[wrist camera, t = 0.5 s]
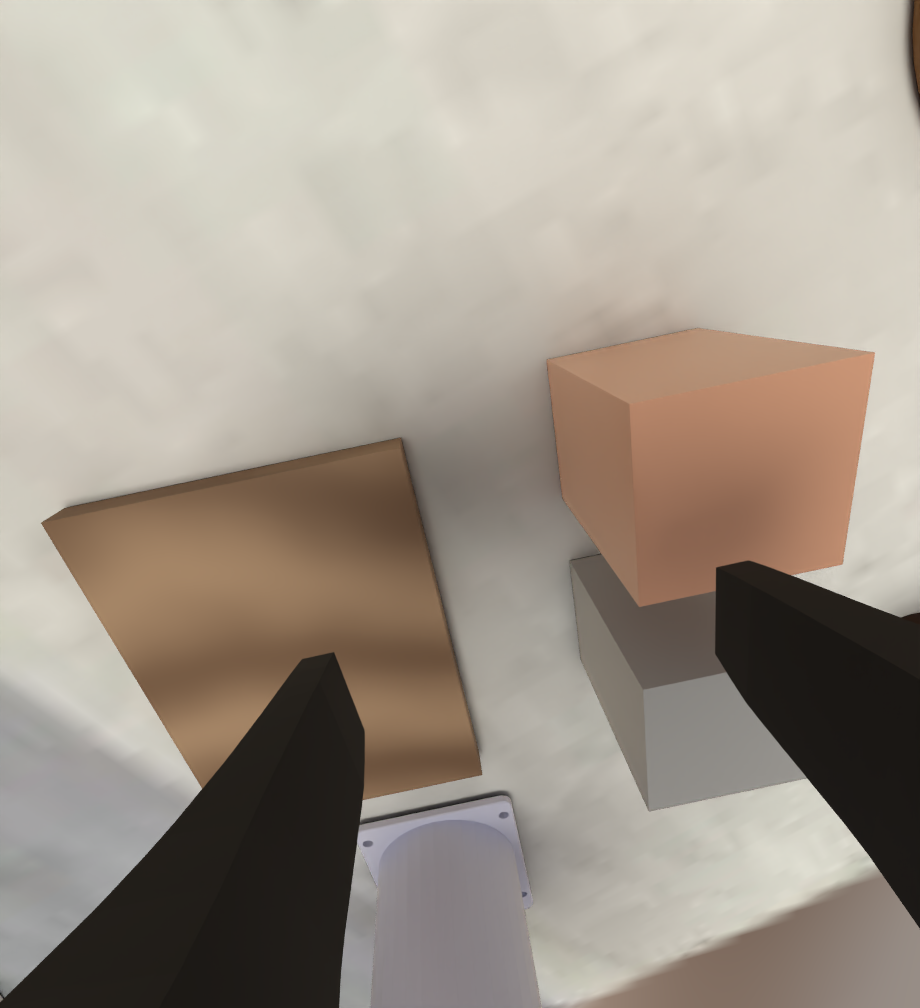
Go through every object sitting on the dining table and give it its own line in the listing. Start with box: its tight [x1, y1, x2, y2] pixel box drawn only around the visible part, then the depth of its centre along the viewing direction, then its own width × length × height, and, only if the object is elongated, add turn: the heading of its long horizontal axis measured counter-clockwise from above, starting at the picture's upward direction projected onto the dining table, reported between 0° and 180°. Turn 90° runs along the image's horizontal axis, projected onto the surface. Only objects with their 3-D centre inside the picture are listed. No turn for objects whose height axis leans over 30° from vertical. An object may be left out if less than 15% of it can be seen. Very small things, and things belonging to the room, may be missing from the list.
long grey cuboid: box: [570, 554, 807, 811], centre depth 18 cm, size 5×5×7 cm
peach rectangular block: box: [547, 328, 875, 607], centre depth 14 cm, size 5×5×7 cm
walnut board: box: [41, 438, 482, 800], centre depth 20 cm, size 16×12×1 cm
